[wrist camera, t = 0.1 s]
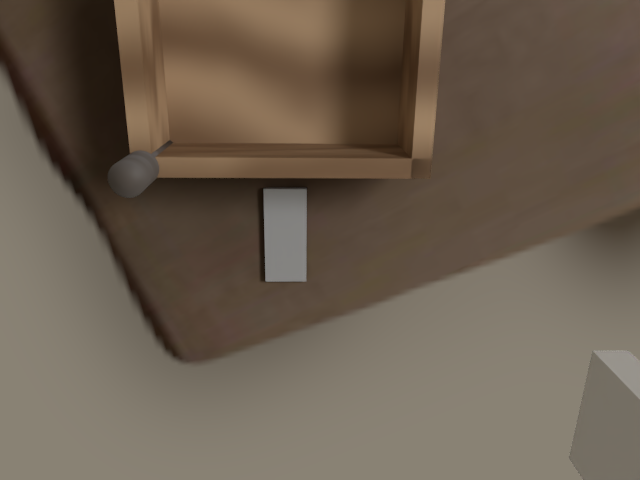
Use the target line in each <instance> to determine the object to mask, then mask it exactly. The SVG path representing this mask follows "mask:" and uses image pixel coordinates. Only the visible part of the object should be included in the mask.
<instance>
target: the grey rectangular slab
mask: <svg viewBox="0 0 640 480" xmlns="http://www.w3.org/2000/svg"><path fill="white" fill-rule="evenodd" d="M263 194H264V238H265V282H285V281H306V232H307V188H264V189H263Z"/></svg>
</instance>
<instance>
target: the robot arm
mask: <svg viewBox="0 0 640 480" xmlns="http://www.w3.org/2000/svg"><path fill="white" fill-rule="evenodd" d="M569 459H570V461H571V462H572V464H573V465H574V467H575V468H576V470H577V471H578V473H579V474H580V476H581V477H582V479H583V480H640V361H639V360H638V359H637V358H636V357H635V356H634V355H633V354H632V353H630V352H629V351H592V356H591V360H590V365H589V369H588V374H587V379H586V383H585V388H584V392H583V397H582V401H581V406H580V410H579V415H578V420H577V424H576V428H575V433H574V438H573V442H572V447H571V451H570V456H569Z"/></svg>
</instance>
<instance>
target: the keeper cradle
mask: <svg viewBox="0 0 640 480" xmlns="http://www.w3.org/2000/svg"><path fill="white" fill-rule="evenodd" d="M114 5H115V15H116V24H117V34H118V44H119V53H120V63H121V72H122V82H123V92H124V101H125V111H126V120H127V130H128V139H129V149H130V154H129V155H127V156H126V157H124V158H123V159H121V160H120V161H118V162H117V163H115V164H114V165H113V166H112V167H111V168H110V170H109V172H108V183H109V185H110V187H111V189H112V190H113V191H114V192H115V193H116V194H118V195H119V196H122V197H126V198H132V197H136V196H138V195H139V194H141V193H142V192H143V191H144V190H145V189H146V188H147V187H148V186H149V185H150V184H151V183H152V182H153V181H154V180H155V179H156V178H398V179H430V177H431V165H432V153H433V141H434V129H435V117H436V104H437V92H438V80H439V68H440V56H441V44H442V32H443V20H444V8H445V0H114Z"/></svg>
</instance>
